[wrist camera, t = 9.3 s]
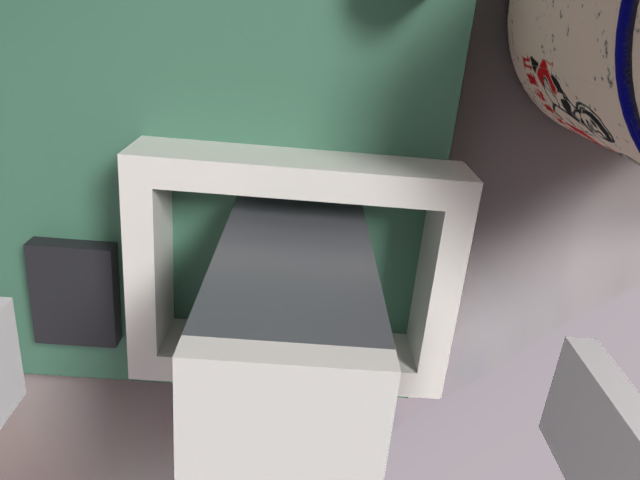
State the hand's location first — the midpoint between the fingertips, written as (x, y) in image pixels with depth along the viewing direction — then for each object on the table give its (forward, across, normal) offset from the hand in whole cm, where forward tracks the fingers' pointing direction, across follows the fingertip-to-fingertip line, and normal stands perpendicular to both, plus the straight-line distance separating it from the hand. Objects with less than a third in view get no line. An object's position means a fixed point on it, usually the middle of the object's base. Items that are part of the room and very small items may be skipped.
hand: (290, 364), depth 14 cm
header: (+8, 0, -1) cm, 8 cm away
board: (+9, -3, +2) cm, 10 cm away
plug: (+7, 0, -1) cm, 8 cm away
